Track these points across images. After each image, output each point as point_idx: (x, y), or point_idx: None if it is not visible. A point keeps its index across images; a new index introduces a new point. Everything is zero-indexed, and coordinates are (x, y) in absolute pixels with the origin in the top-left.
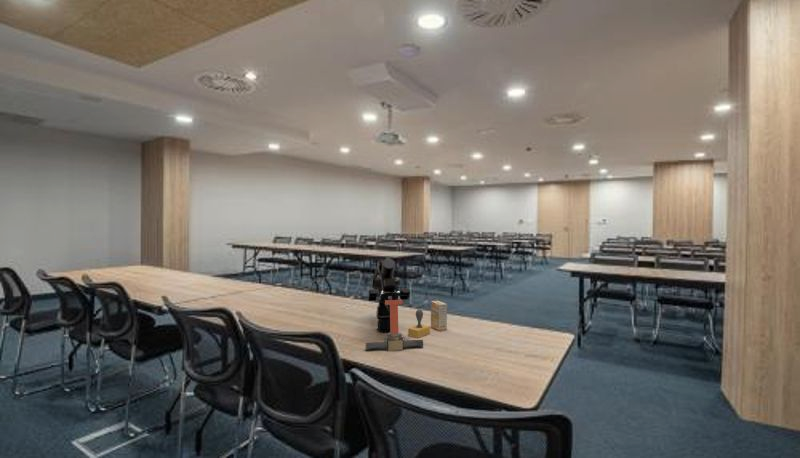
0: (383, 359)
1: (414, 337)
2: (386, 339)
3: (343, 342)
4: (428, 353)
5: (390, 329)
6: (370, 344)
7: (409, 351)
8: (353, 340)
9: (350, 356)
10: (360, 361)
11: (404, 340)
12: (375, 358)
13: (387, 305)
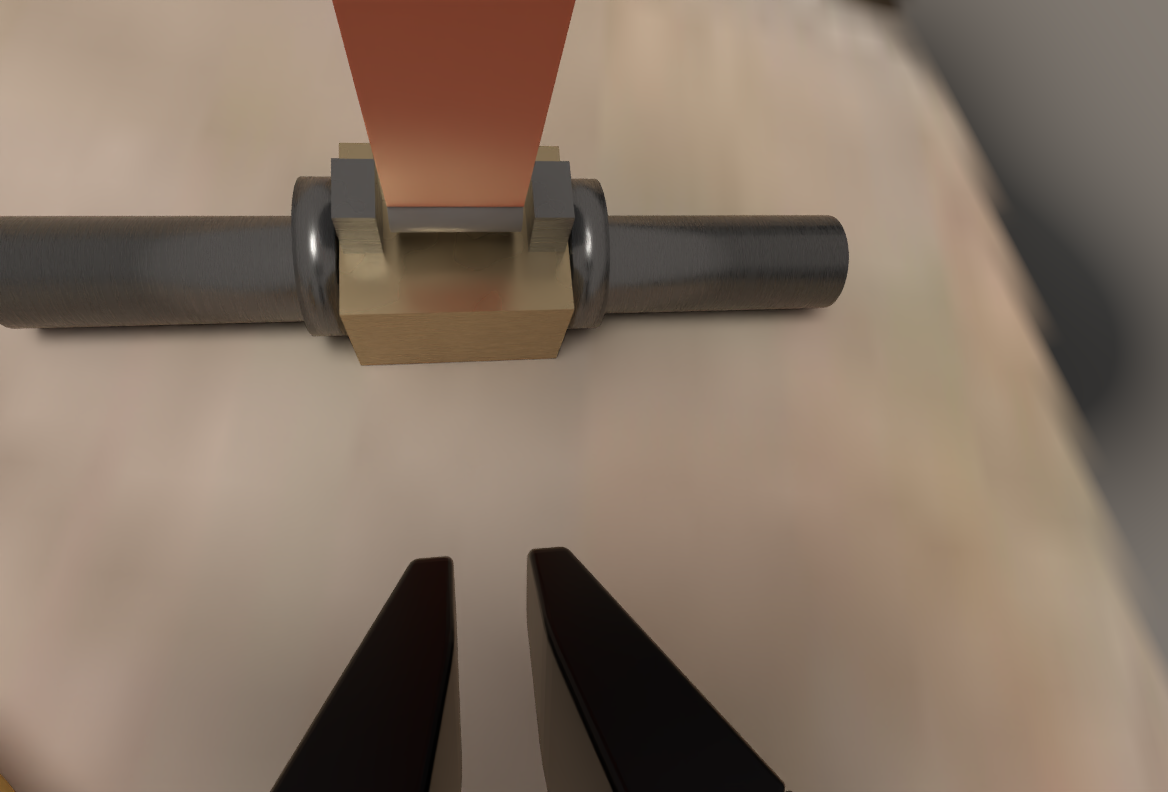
0: (610, 5)
1: (5, 784)
2: (583, 194)
3: (1106, 594)
4: (48, 64)
5: (530, 173)
6: (781, 217)
7: (280, 164)
8: (1002, 675)
9: (932, 133)
10: (823, 5)
11: (305, 178)
12: (689, 43)
13: (689, 680)
